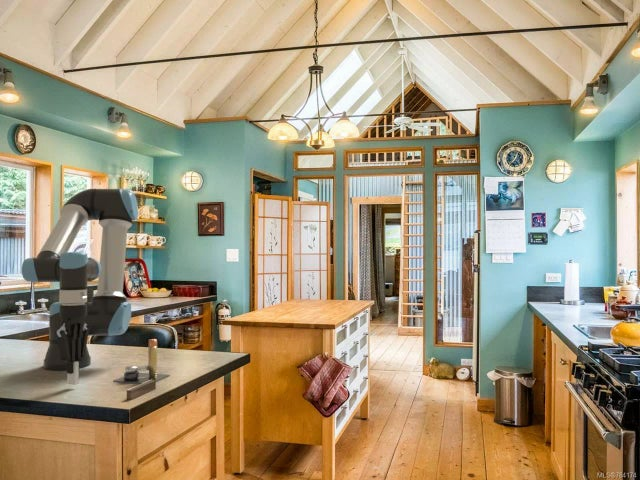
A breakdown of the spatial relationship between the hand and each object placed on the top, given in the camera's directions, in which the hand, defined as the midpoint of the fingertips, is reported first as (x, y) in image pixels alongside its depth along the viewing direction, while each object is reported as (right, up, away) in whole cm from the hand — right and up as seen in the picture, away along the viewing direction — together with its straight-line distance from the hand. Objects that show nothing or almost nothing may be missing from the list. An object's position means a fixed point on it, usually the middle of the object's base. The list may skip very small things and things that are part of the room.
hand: (72, 383), depth 161 cm
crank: (+17, +1, +11) cm, 20 cm away
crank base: (+17, -2, +12) cm, 21 cm away
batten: (+22, -1, -6) cm, 23 cm away
